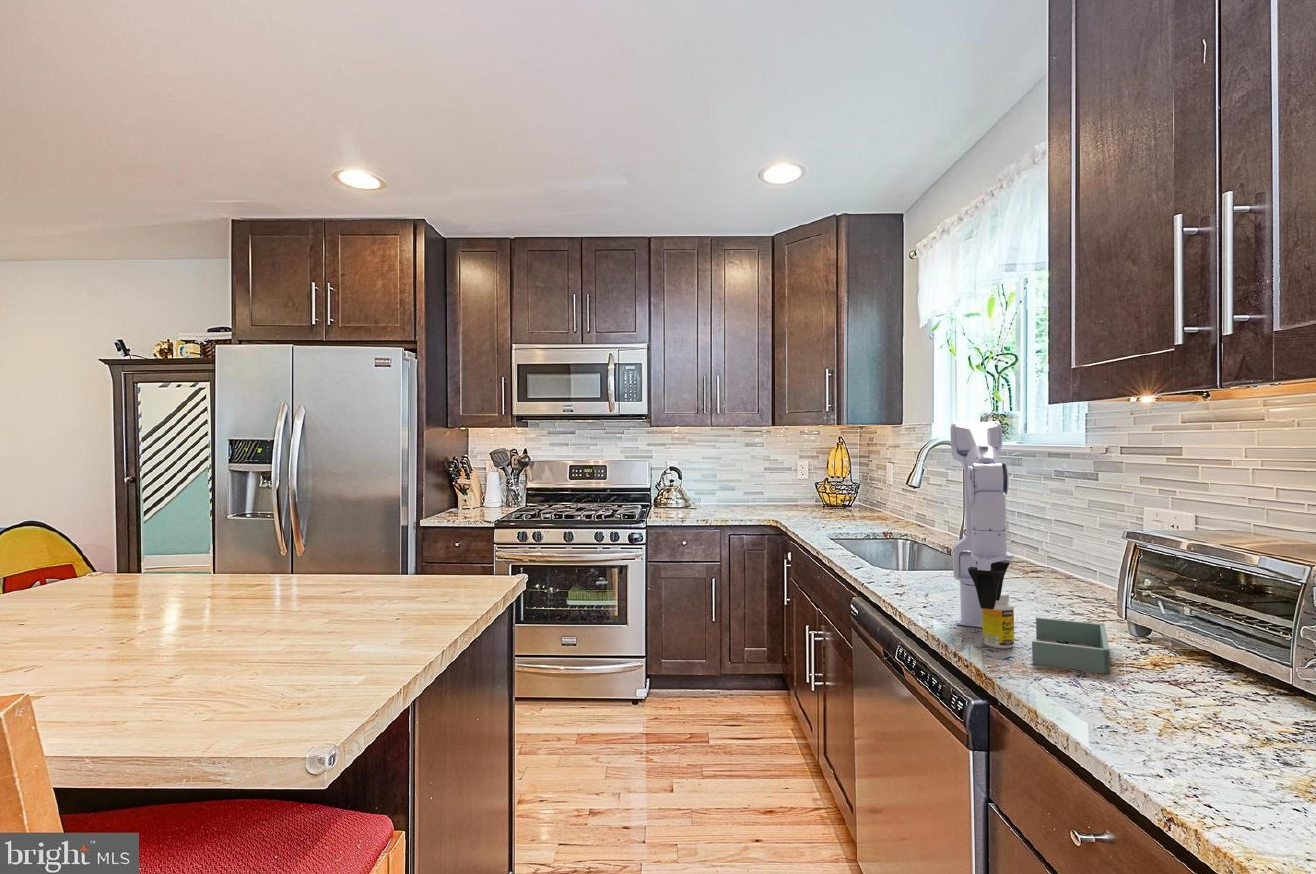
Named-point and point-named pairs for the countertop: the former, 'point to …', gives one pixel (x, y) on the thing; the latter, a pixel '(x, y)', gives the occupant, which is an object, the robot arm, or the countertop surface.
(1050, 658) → the u-shaped frame
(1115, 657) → the countertop surface
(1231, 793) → the countertop surface
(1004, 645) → the supplement bottle
